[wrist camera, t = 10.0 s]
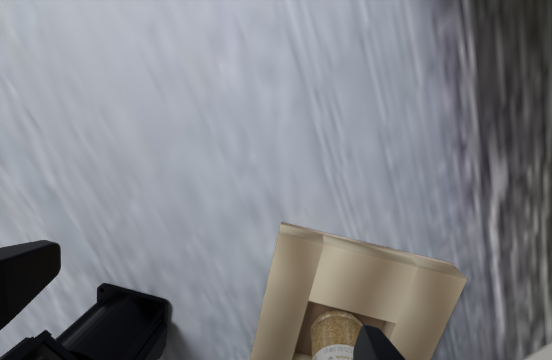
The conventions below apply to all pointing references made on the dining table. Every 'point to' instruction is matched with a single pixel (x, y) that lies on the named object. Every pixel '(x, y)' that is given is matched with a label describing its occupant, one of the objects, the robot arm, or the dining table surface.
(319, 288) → the socket block
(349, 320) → the sprinkles bottle
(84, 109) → the dining table surface
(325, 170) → the dining table surface
